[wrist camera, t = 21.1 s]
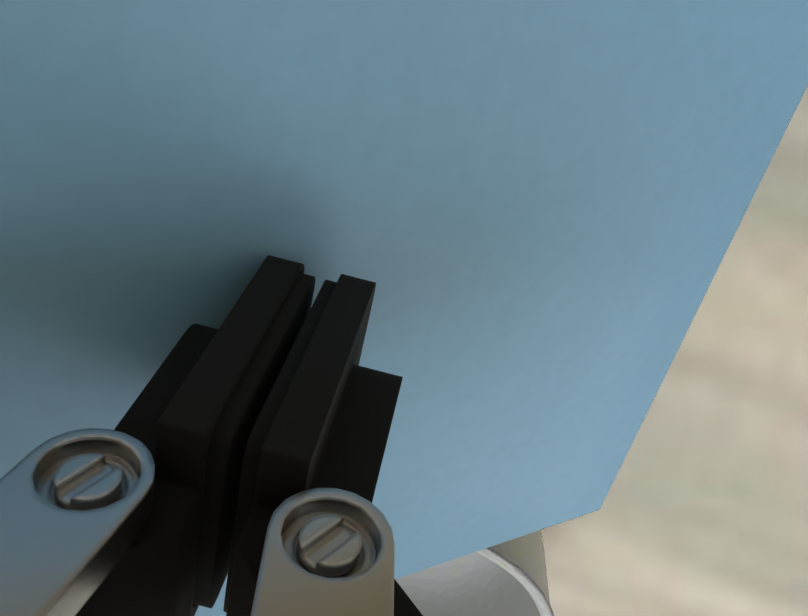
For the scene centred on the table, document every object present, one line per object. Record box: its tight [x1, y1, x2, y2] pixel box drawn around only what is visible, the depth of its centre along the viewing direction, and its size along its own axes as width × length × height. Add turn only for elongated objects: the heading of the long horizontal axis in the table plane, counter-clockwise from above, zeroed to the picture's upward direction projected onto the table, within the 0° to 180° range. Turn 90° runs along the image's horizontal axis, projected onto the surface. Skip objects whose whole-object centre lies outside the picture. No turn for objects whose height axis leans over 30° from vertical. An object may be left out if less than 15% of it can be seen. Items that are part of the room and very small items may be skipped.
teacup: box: [395, 530, 554, 616], centre depth 29 cm, size 14×11×8 cm
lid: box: [0, 0, 808, 616], centre depth 13 cm, size 16×16×1 cm
